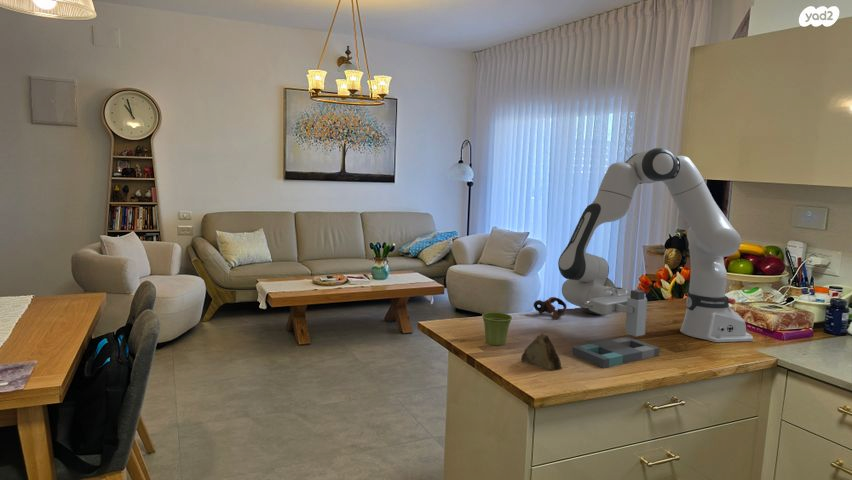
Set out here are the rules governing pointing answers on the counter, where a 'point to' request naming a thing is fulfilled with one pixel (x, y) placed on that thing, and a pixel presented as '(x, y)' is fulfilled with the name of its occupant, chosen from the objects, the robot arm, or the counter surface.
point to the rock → (542, 354)
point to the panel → (615, 352)
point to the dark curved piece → (550, 307)
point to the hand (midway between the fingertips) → (639, 309)
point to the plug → (636, 313)
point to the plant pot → (496, 327)
